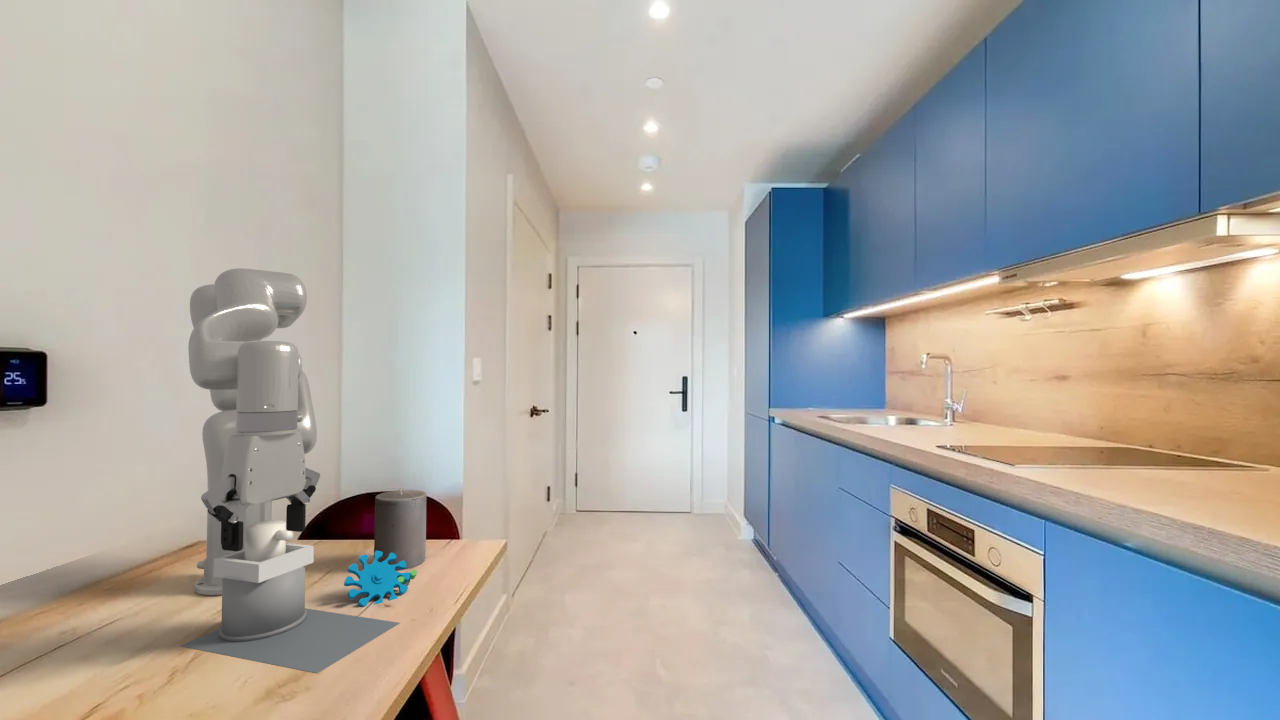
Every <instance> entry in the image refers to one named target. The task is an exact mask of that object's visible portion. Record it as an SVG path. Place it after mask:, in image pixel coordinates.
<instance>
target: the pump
mask: <svg viewBox="0 0 1280 720" xmlns="http://www.w3.org/2000/svg"><path fill="white" fill-rule="evenodd" d="M293 538H294V531H288V530H287V529H286V520H276V519H275V520H272V521H264V522H258V523H254V524H250V525H248V526H246V527H245V552H244V560H246V561H254V562H262V561H265V560H268V559H271V558H274V557H277V556H280V555H283V554H286V543H287V542H289V541H291V540H292V539H293Z"/></svg>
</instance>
